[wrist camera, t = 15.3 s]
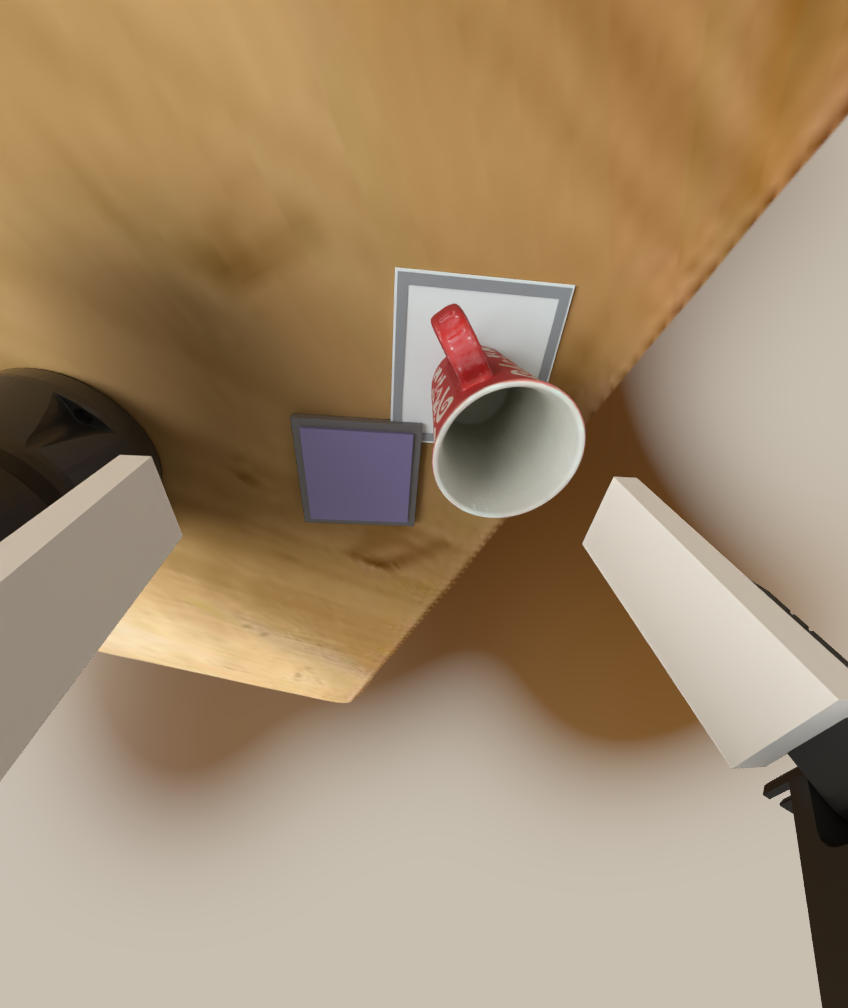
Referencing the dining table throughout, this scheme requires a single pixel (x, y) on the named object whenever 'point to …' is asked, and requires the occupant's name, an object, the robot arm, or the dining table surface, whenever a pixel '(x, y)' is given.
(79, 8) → the dining table surface
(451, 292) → the print card
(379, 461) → the ink pad
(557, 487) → the mug
